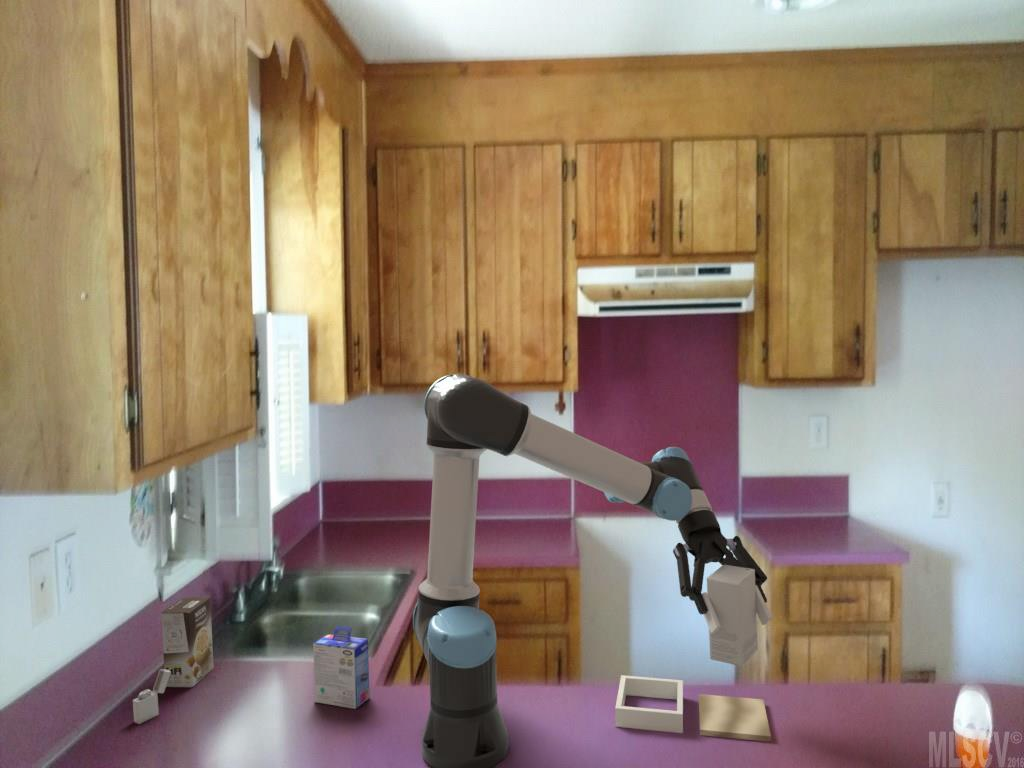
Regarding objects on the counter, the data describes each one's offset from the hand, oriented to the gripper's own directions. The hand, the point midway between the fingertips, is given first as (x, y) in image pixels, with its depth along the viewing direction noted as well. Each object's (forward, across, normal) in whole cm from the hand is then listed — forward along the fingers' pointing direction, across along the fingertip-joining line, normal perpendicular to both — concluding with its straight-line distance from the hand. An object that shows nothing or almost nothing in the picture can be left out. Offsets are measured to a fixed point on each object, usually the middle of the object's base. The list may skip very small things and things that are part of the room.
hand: (741, 625), depth 133 cm
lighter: (-16, +104, -43) cm, 113 cm away
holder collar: (+6, +13, -21) cm, 25 cm away
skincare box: (+3, -1, -7) cm, 8 cm away
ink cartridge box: (-11, +68, -38) cm, 79 cm away
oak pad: (+11, 0, -15) cm, 19 cm away
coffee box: (-26, +99, -53) cm, 115 cm away
